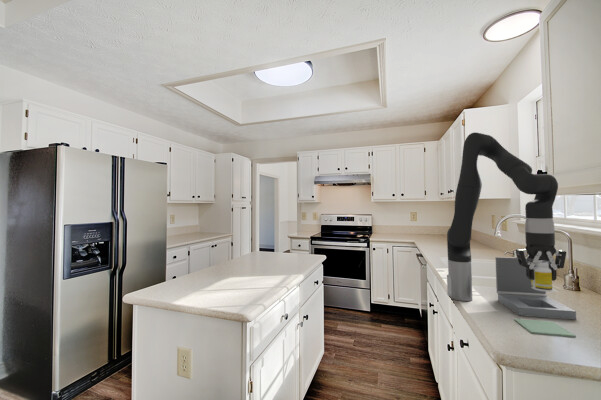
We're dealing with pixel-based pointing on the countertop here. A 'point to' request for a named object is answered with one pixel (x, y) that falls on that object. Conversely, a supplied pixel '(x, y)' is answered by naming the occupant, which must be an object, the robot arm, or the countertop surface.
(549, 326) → the mat
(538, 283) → the supplement bottle
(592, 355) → the countertop surface
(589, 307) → the countertop surface
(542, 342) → the countertop surface
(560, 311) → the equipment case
